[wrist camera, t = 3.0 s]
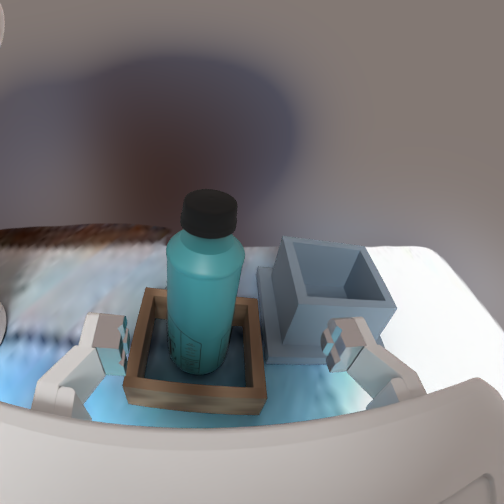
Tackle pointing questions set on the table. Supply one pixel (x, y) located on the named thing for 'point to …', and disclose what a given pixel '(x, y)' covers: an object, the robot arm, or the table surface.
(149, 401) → the walnut sleeve
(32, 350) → the table surface
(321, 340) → the robot arm
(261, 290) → the bottle holder
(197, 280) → the beverage bottle
